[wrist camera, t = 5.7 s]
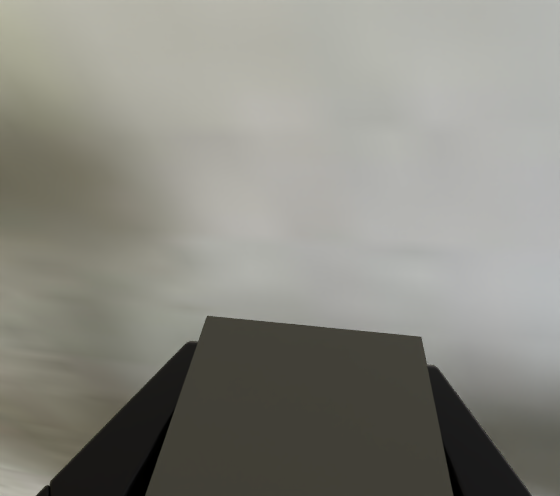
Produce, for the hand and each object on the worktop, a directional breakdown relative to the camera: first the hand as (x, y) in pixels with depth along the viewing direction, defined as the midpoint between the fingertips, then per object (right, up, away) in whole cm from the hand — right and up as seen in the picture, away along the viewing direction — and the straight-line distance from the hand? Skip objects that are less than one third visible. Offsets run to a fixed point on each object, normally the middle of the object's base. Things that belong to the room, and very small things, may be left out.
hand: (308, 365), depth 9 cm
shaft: (0, -7, +5) cm, 9 cm away
